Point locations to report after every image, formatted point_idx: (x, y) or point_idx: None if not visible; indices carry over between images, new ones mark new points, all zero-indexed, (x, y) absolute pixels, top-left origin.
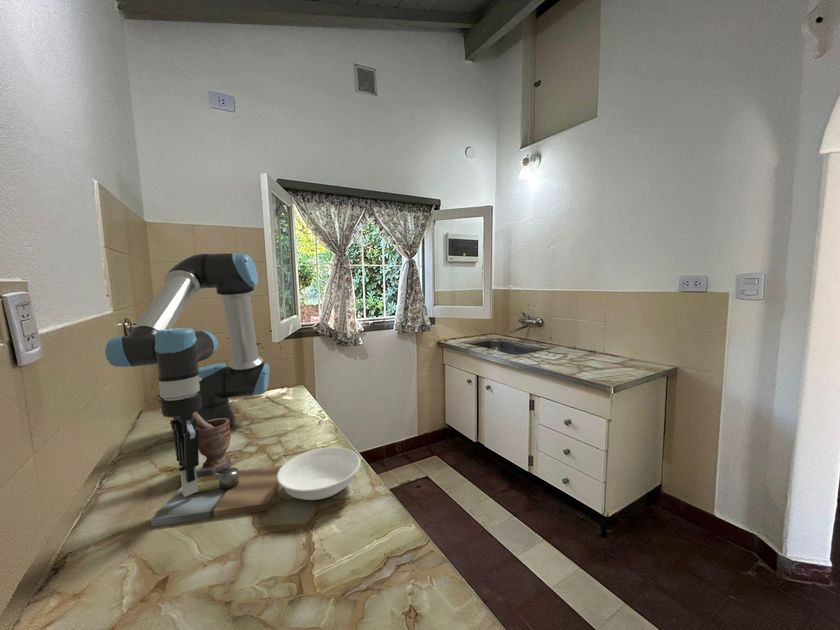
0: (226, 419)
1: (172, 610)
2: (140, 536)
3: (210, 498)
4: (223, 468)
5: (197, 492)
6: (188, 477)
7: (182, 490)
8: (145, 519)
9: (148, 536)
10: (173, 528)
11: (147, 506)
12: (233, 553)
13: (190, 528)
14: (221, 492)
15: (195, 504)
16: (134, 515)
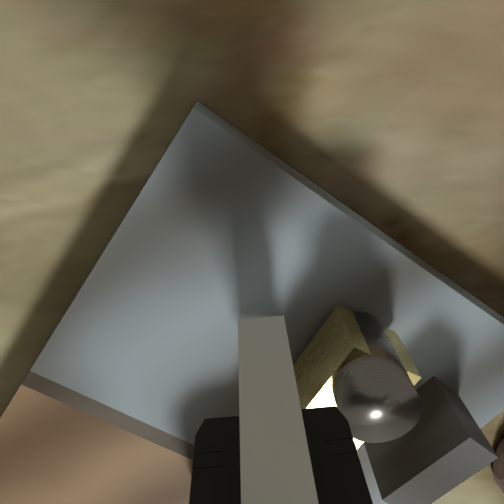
0: None
1: None
2: (129, 28)
3: (174, 394)
4: (496, 473)
5: (295, 363)
6: (193, 468)
7: (283, 334)
8: (326, 76)
9: (92, 70)
10: (80, 195)
11: (493, 105)
12: None
13: (15, 261)
14: (194, 439)
15: (172, 331)
16: (451, 20)
